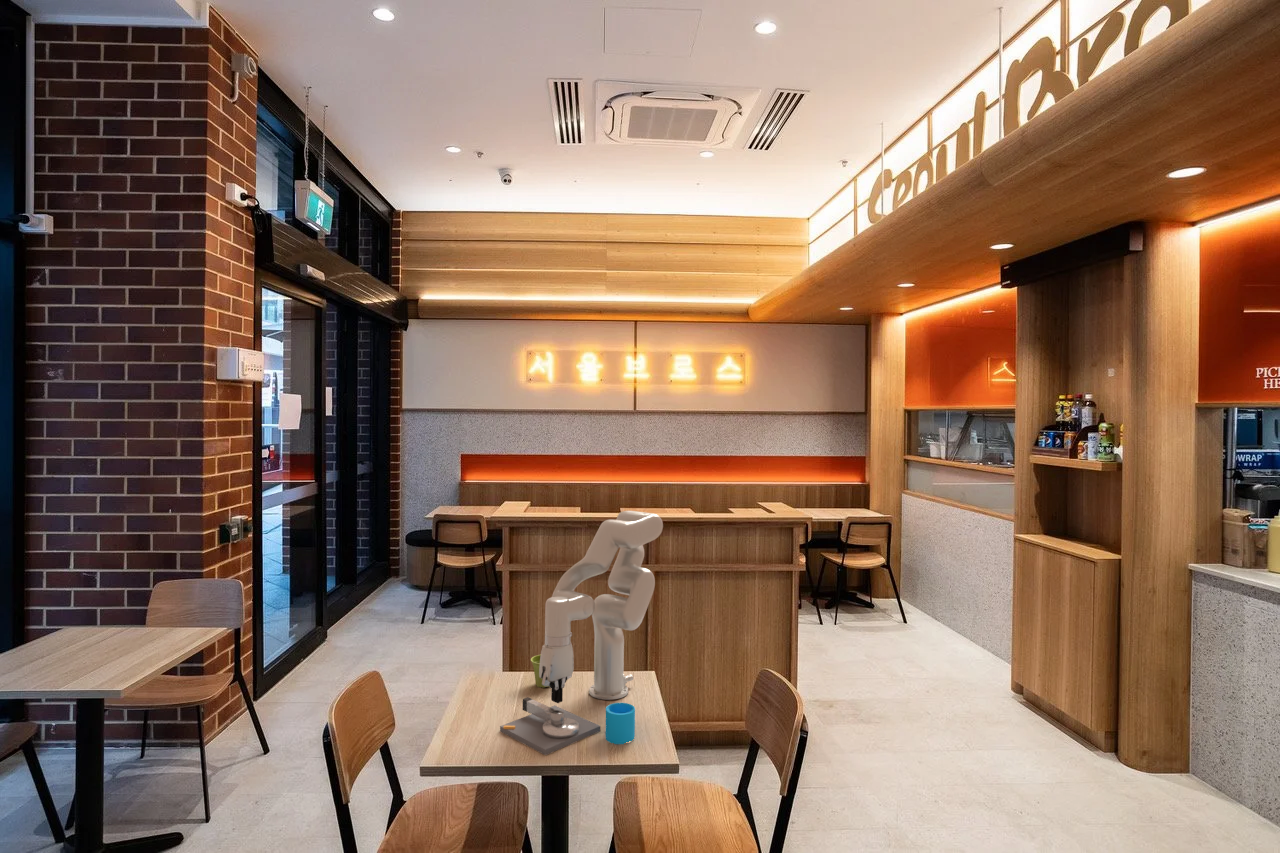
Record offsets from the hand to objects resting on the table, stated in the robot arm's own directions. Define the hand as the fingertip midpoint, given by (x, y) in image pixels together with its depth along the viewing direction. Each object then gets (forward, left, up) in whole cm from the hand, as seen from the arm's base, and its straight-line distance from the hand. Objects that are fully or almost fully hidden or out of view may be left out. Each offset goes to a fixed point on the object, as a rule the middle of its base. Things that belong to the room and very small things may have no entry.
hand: (556, 701), depth 209 cm
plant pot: (-14, -22, -5) cm, 26 cm away
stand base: (+7, +6, -5) cm, 11 cm away
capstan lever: (+7, +5, -3) cm, 9 cm away
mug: (-5, +21, -5) cm, 23 cm away
